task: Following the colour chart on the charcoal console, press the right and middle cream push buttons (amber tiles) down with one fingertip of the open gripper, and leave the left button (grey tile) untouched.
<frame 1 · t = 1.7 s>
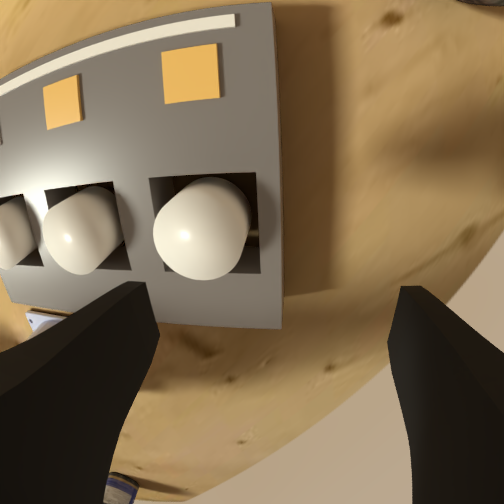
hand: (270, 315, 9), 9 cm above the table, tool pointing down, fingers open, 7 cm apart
switch console: (104, 179, 17), on the table
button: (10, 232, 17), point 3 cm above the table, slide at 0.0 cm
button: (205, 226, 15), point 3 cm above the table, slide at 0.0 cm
pill bottle: (124, 478, 43), on the table
button middle: (84, 229, 16), point 3 cm above the table, slide at 0.0 cm
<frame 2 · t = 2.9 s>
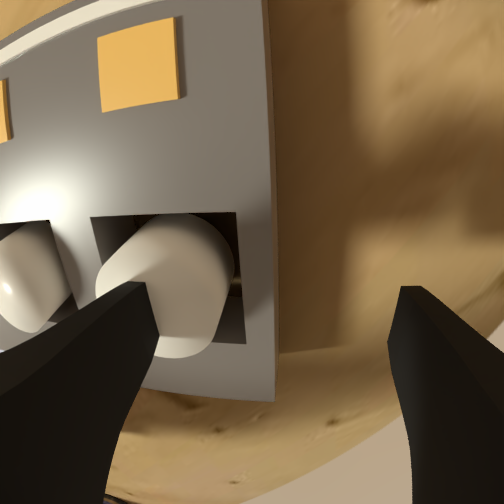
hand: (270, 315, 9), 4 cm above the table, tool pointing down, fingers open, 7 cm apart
switch console: (54, 207, 13), on the table
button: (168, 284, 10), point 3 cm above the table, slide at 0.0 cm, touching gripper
pill bottle: (116, 499, 38), on the table
button middle: (28, 275, 11), point 3 cm above the table, slide at 0.0 cm
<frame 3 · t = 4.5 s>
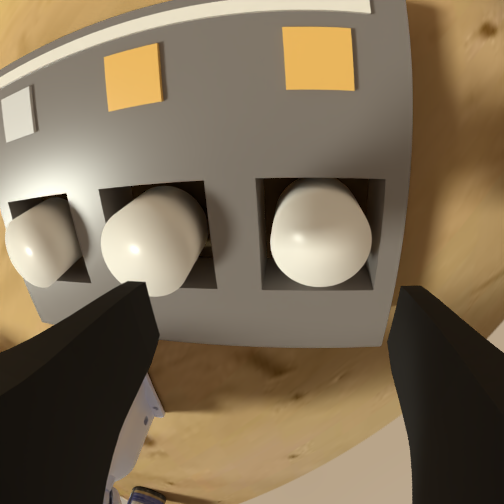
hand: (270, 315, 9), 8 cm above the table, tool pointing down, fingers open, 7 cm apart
switch console: (173, 177, 15), on the table
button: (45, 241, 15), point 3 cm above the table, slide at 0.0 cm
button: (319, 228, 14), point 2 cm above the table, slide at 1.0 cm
pill bottle: (150, 491, 41), on the table
button middle: (156, 239, 14), point 3 cm above the table, slide at 0.0 cm
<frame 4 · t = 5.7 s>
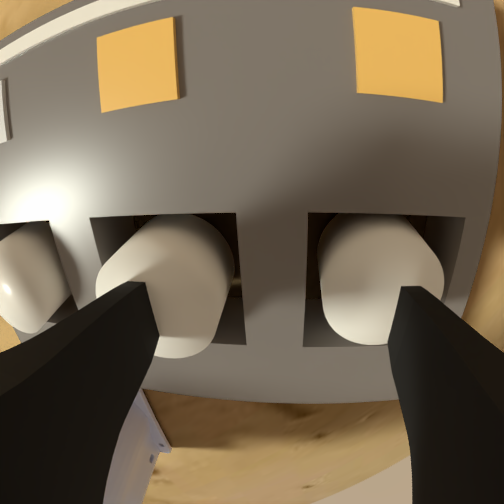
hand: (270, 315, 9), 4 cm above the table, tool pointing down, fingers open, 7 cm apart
switch console: (186, 199, 12), on the table
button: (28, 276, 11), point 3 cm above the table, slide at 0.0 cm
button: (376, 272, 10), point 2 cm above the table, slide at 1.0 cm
button middle: (168, 284, 10), point 3 cm above the table, slide at 0.1 cm, touching gripper
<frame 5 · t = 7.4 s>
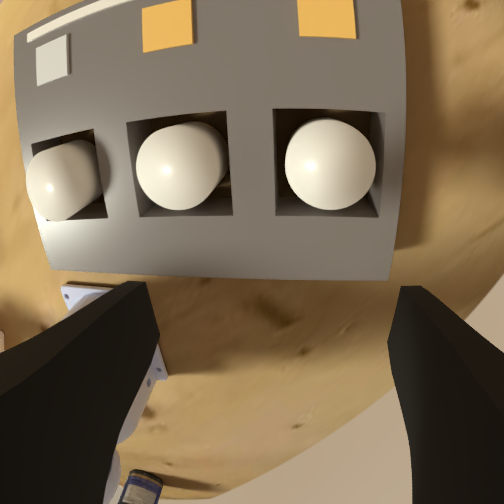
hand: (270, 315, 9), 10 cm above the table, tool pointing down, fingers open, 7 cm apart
switch console: (193, 120, 16), on the table
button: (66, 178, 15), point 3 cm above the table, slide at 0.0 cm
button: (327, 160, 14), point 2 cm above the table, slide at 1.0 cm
pill bottle: (147, 475, 42), on the table
button middle: (184, 162, 15), point 2 cm above the table, slide at 1.0 cm
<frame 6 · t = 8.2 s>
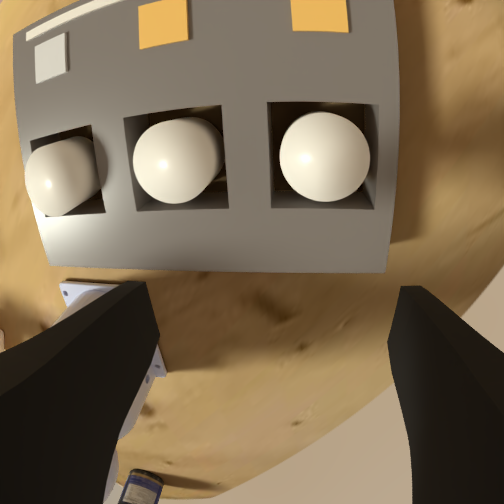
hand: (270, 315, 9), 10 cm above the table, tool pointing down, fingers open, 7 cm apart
switch console: (189, 116, 16), on the table
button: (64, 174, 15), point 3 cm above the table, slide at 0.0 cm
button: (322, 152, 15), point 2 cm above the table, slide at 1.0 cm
pill bottle: (147, 475, 42), on the table
button middle: (181, 157, 15), point 2 cm above the table, slide at 1.0 cm
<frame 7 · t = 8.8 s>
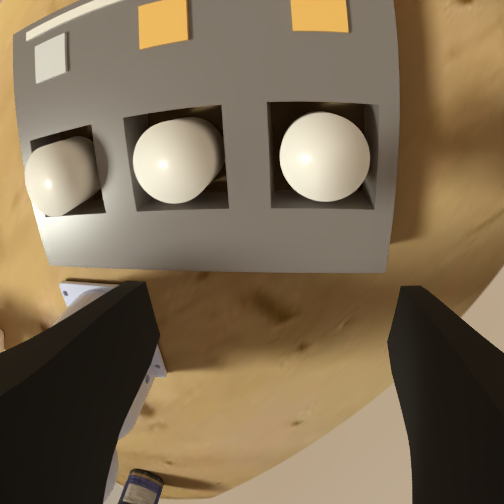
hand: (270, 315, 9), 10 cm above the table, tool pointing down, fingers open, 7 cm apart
switch console: (189, 116, 16), on the table
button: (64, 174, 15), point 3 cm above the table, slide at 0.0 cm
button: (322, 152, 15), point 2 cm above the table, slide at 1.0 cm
pill bottle: (147, 475, 42), on the table
button middle: (181, 157, 15), point 2 cm above the table, slide at 1.0 cm
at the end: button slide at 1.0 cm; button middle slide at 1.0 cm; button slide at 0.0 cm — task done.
